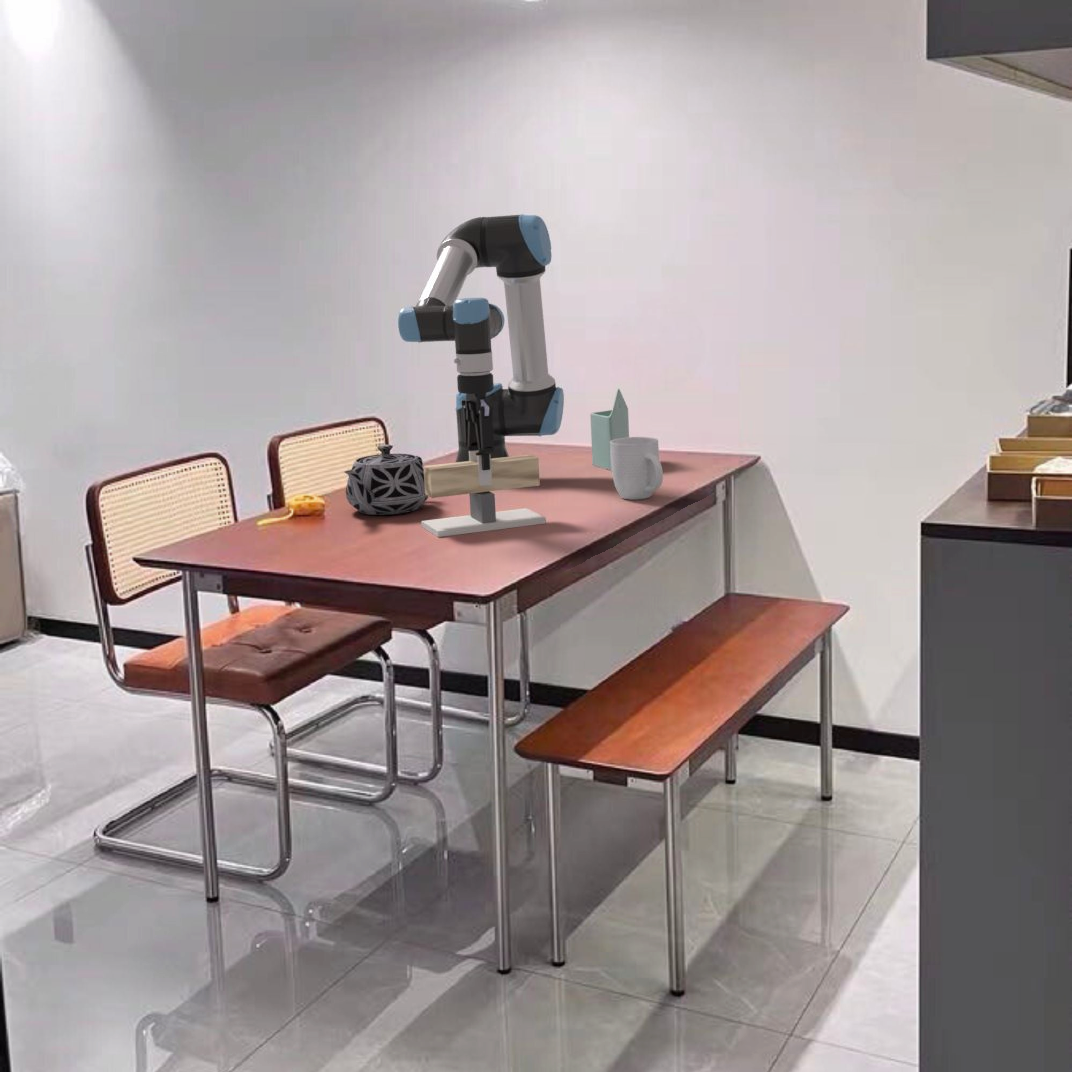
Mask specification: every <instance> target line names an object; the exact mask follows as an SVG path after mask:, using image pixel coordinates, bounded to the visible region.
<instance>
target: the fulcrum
mask: <svg viewBox="0 0 1072 1072" xmlns="http://www.w3.org/2000/svg"><path fill="white" fill-rule="evenodd" d="M468 496H469V511H470V514H468V515H467V514H466V515H459V516H452V517H444V518H436V519H435V518H434V519H427V520H421V527H422V528H423V529H424V530H426V531H428V532H430V533H431V534H432V535H434V536H436V537H437V538H440V537H450V536H458V535H465V534H472V533H481V532H488V531H489V532H490V531H497V530H504V529H505V530H506V529H510V528H512V529H513V528H521V527H526V526H535V525H542V524H547V518H546V517H545V516H543V515H541V514H539V513H537V512H535V511H533V510H531V509H529V508H527V507H524V508H515V509H510V510H509V509H508V510H500V511H496V497H495V496H496V495H495V493H494V492H492V491H488V492H479V493H471V494H468Z"/></svg>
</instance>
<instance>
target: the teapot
mask: <svg viewBox="0 0 1072 1072" xmlns="http://www.w3.org/2000/svg"><path fill="white" fill-rule="evenodd" d="M393 446H394V445H392V444H381V445H378V446H377V447H376V448H377V449H378V451H379V452H381V453H379V454H373V455H366V456H361V457H359V458H357V459H355V460H354V462H353V464H352V467H351V469H350V470H349V469H348V470H345V471H343V473H345V474H347V475H348V478H347V482H346V488H345V497H346V500H347V502H348V503H349V504H350V506H352V507H353V508H355V510H357V512H359V513H361V514H365V515H369V516H370V515H371V516H391V515H399V514H406V513H409V512H413V511H416V510H418V509H419V508H421V506H422V505H423V504H425V502H426V501H427V500H428V499H429V498H430V497H429V496H428V495H426V494H425V483H424V467H423V466H424V464H423V459H422V457H420V456H419V455H414V454H409V453H390V452H391V450H392V449H393V448H394V447H393Z"/></svg>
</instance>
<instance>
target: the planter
mask: <svg viewBox="0 0 1072 1072" xmlns="http://www.w3.org/2000/svg"><path fill="white" fill-rule="evenodd" d="M614 397H615V398H614V401H613V402H614V403H613V405H612V409H610V410H603V411H596V412H591V413H590V415H589V416H590V434H591V435H590V436H591V437H590V438H591V455H592V457H591V458H592V459H591V461H592V462H591V463H592V466H594V465H595V466H594V467H596V466H598V467H597V468H600V467H602V468H601V469H603V468H605V470H607V469H608V471H610V472H612V470H611V461H610V460H611V459H610V441H611V440H614V439H619V438H626V437H630V427H629V407H628V405H627V402H626V400H625V398H624V397H623V394H622V392H621V390H620V388H617V390H616V393H615V396H614Z"/></svg>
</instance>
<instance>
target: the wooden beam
mask: <svg viewBox="0 0 1072 1072" xmlns="http://www.w3.org/2000/svg"><path fill="white" fill-rule="evenodd" d="M539 458H540V457H538V456H535V455H533V454H523V455H512V456H509V457H502V458H493V459H491V471H492V485H484V486H479V477H478V461H477V460H475V461H466V462H457V463H455V462H450V463H448V462H447V463H439V464H432V465H423V469H424V483H425V494H426V495H428V496H429V497H428V498H432V499H434V498H444V497H453V496H461V495H469V494H471V493H479V492H488V491H489V492H494V491H495V492H497V491H503V490H511V489H512V490H513V489H520V488H530V487H539V486H540V485H541V483H540V482H541V481H540V464H539V463H540V461H539Z"/></svg>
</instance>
